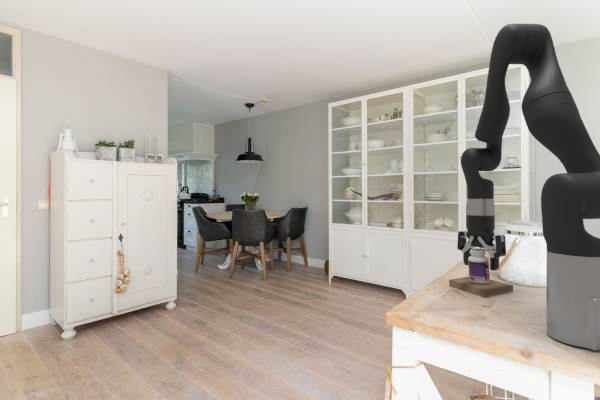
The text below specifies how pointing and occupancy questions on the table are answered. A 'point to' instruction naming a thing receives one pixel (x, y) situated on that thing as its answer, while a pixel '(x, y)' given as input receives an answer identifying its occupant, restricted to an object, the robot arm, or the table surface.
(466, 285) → the walnut block
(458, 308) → the table surface
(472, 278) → the pill bottle
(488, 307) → the table surface
